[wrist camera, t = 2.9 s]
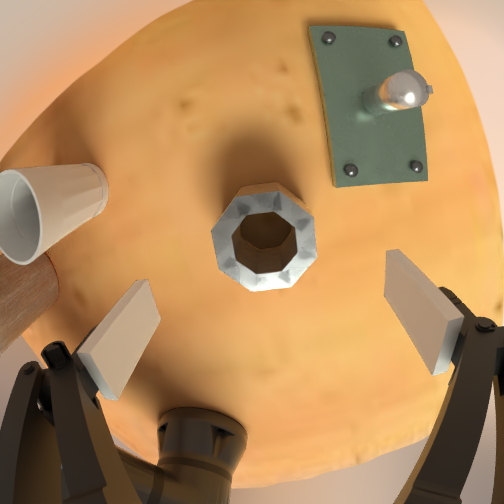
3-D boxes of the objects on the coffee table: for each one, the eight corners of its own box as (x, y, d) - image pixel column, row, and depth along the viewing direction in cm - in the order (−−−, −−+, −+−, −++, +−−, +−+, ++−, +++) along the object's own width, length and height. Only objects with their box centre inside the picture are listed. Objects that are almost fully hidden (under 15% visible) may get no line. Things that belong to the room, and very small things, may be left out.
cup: (94, 141, 26) (15, 148, 15) (127, 201, 28) (57, 236, 17) (52, 181, 27) (-21, 205, 16) (82, 236, 30) (15, 279, 18)
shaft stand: (332, 185, 26) (361, 203, 18) (307, 31, 21) (323, -12, 13) (421, 179, 25) (472, 194, 17) (398, 35, 20) (439, 6, 12)
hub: (232, 266, 30) (224, 294, 24) (218, 190, 27) (205, 201, 22) (309, 256, 29) (318, 283, 24) (301, 178, 26) (310, 187, 21)
